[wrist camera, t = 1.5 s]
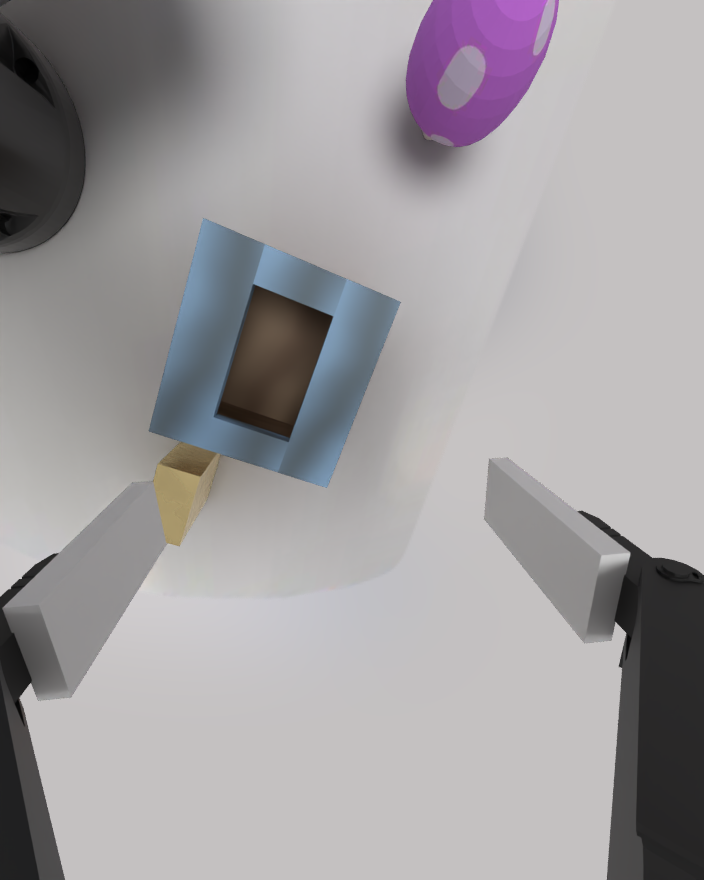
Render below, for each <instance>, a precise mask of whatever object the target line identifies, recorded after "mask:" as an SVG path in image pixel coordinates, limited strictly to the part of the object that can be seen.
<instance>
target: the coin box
mask: <svg viewBox="0 0 704 880" xmlns="http://www.w3.org/2000/svg"><path fill="white" fill-rule="evenodd" d="M400 303H401V302H400V301H397V300H395V299H393V298H390V297H388V296H386V295H383V294H381V293H379V292H376V291H374V290H371V289H369V288H367V287H364V286H362V285H360V284H357V283H355V282H353V281H350V280H348V279H346V278H343V277H341V276H338V275H336V274H334V273H331V272H329V271H327V270H324V269H322V268H320V267H317V266H315V265H313V264H310V263H308V262H306V261H303V260H301V259H298V258H296V257H294V256H291V255H289V254H287V253H284V252H282V251H280V250H277V249H275V248H273V247H270V246H268V245H266V244H263V243H261V242H258V241H256V240H254V239H251V238H249V237H247V236H244V235H242V234H240V233H237V232H235V231H233V230H230V229H228V228H225V227H223V226H221V225H218V224H216V223H214V222H211V221H209V220H207V219H204V218H203V221H202V225H201V229H200V233H199V237H198V241H197V245H196V248H195V252H194V256H193V260H192V264H191V268H190V272H189V276H188V280H187V284H186V288H185V291H184V295H183V299H182V303H181V307H180V311H179V315H178V319H177V323H176V327H175V330H174V334H173V338H172V342H171V346H170V350H169V354H168V358H167V362H166V366H165V369H164V373H163V377H162V381H161V385H160V389H159V393H158V397H157V401H156V405H155V409H154V412H153V416H152V420H151V424H150V428H149V432H152V433H156V434H159V435H162V436H165V437H168V438H171V439H174V440H178V441H181V442H184V443H187V444H190V445H193V446H196V447H200V448H203V449H206V450H209V451H212V452H215V453H219V454H222V455H225V456H228V457H231V458H234V459H237V460H241V461H244V462H247V463H250V464H253V465H256V466H259V467H263V468H266V469H269V470H272V471H275V472H278V473H281V474H285V475H288V476H291V477H294V478H297V479H300V480H303V481H307V482H310V483H313V484H316V485H319V486H322V487H325V488H327V486H328V484H329V481H330V479H331V476H332V474H333V471H334V469H335V466H336V464H337V461H338V459H339V456H340V454H341V451H342V449H343V446H344V444H345V441H346V439H347V436H348V434H349V431H350V429H351V426H352V424H353V421H354V418H355V416H356V413H357V411H358V408H359V406H360V403H361V401H362V398H363V396H364V393H365V391H366V388H367V386H368V383H369V381H370V378H371V376H372V373H373V371H374V368H375V366H376V363H377V361H378V358H379V356H380V353H381V351H382V348H383V346H384V343H385V340H386V338H387V335H388V333H389V330H390V328H391V325H392V323H393V320H394V318H395V315H396V313H397V310H398V308H399V305H400Z"/></svg>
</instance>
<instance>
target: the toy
mask: <svg viewBox="0 0 704 880" xmlns="http://www.w3.org/2000/svg"><path fill="white" fill-rule="evenodd" d="M558 3H559V0H433V2H432V3H431V5H430V7H429V9H428V11H427V12H426V14H425V16H424V18H423V20H422V22H421V24H420V27H419V29H418V32H417V35H416V37H415V40H414V43H413V46H412V49H411V52H410V56H409V61H408V67H407V75H406V93H407V99H408V103H409V107H410V110H411V112H412V114H413V117H414V119H415V121H416V123H417V124H418V125H419V127H420V128H421V129H422V130H423V131H422V133H423V136H424V138H425V139H427V140H432V139H433V140H434V141H436V142H438V143H441V144H443V145H446V146H454V147H460V146H467V145H471V144H473V143H475V142H477V141H479V140H481V139H483V138H484V137H486V136H487V135H488V134H490V133H491V132H492V131H493V130H495V129H496V128H497V127H498V126H499V125H500V124H501V123H502V122H503V121H504V120H505V119H506V118H507V117H508V116H509V114H510V113H511V112H512V111H513V109H514V108H515V107H516V106H517V104H518V103H519V102H520V100H521V99H522V97H523V96H524V95H525V93H526V92H527V90H528V89H529V87H530V85H531V83H532V81H533V79H534V77H535V75H536V73H537V71H538V69H539V67H540V65H541V64H542V62H543V60H544V58H545V55H546V52H547V49H548V46H549V43H550V40H551V37H552V33H553V30H554V27H555V24H556V19H557V12H558Z"/></svg>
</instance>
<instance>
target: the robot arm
mask: <svg viewBox="0 0 704 880" xmlns="http://www.w3.org/2000/svg"><path fill="white" fill-rule="evenodd" d="M9 1H11V0H0V6H2V5H4V4H5V3H7V2H9ZM84 173H85V151H84V142H83V136H82V131H81V127H80V123H79V120H78V116H77V114H76V111H75V108H74V105H73V103H72V101H71V98H70V96H69V94H68V92H67V90H66V88H65V86H64V85H63V83H62V81H61V79H60V78H59V76H58V75H57V73H56V71H55V70H54V69H53V67H52V66H51V64H50V63H49V62H48V60H47V59H46V58H45V57H44V55H43V54H42V53H41V52H40V51H39V50H38V48H37V47H36V46H35V45H34V44H33V43H32V42H31V41H30V40H29V39H28V38H27V37H26V36H25V35H24V34H23V33H21V32H20V31H19V30H18V29H17V28H16V27H15V26H14V25H13V24H12V23H11V22H10V21H9V20H8V19H7V18H6V17H4V16H3V15H2V14H1V13H0V253H10V252H17V251H22V250H25V249H29V248H31V247H34V246H36V245H38V244H40V243H42V242H44V241H46V240H47V239H49V238H50V237H51V236H53V235H54V234H55V233H56V232H57V231H59V230H60V229H61V227H62V226H63V225H64V224H65V223H66V221H67V220H68V219H69V217H70V216H71V214H72V212H73V211H74V209H75V207H76V204H77V202H78V199H79V197H80V193H81V190H82V186H83V180H84ZM484 519H485V521H486V522H487V523H488V524H489V526H490V527H491V528H492V529H493V531H494V532H495V533H496V534H497V536H498V537H499V538H500V539H501V540H502V541H503V543H504V544H505V546H506V547H507V548H508V549H509V551H510V552H511V553H512V554H513V555H514V557H515V558H516V559H517V560H518V561H519V563H520V564H521V565H522V567H523V568H524V569H525V570H526V571H527V573H528V574H529V575H530V577H531V578H532V579H533V580H534V582H535V583H536V584H537V585H538V586H539V588H540V589H541V590H542V591H543V593H544V594H545V595H546V596H547V598H548V599H549V600H550V601H551V603H552V604H553V605H554V606H555V608H556V609H557V610H558V611H559V613H560V614H561V615H562V616H563V617H564V619H565V620H566V621H567V622H568V624H569V625H570V626H571V627H572V629H573V630H574V631H575V632H576V634H577V635H578V636H579V637H580V639H581V640H582V641H583V642H584V643H593V642H602V641H611V640H612V635H613V631H614V626H615V622H616V623H617V624H618V625H619V626H620V627H621V628H622V629H623V630H624V631H625V632H626V638H625V642H624V646H623V651H622V655H621V659H620V664H619V667H621V668H622V678H621V692H620V707H619V720H618V733H617V747H616V762H615V776H614V789H613V803H612V817H611V830H610V845H609V858H608V859H609V860H608V872H607V880H704V575H702V573H700V572H699V571H698V570H696V569H694V568H692V567H690V566H688V565H686V564H684V563H681V562H677V561H675V560H670V559H665V558H652V557H650V556H649V555H648V554H646V553H645V552H643V551H642V550H641V549H640V548H638V547H637V546H636V545H634V544H633V543H631V542H630V541H629V540H627V539H626V538H625V537H623V536H621V535H620V534H619V533H618V532H616V531H615V530H614V529H611V527H610V526H608V525H607V524H606V523H604V522H603V521H602V520H600V519H599V518H597V517H595V516H593V515H590V514H588V513H586V512H583V511H576V510H574V509H573V508H572V507H571V506H569V505H568V504H567V503H565V502H564V501H563V500H562V499H560V498H559V497H558V496H556V495H555V494H554V493H553V492H551V491H550V490H549V489H547V488H546V487H545V486H544V485H542V484H541V483H540V482H538V481H537V480H536V479H535V478H533V477H532V476H531V475H529V474H528V473H527V472H525V471H524V470H523V469H522V468H520V467H519V466H517V465H516V464H515V463H514V462H513V461H511V460H510V459H509V458H492V459H489V466H488V478H487V491H486V504H485V516H484ZM165 546H166V540H165V535H164V530H163V526H162V521H161V516H160V511H159V507H158V502H157V497H156V493H155V488H154V483H153V481H151V482H136V483H131V484H130V485H129V486H128V487H127V488H126V489H125V490H124V491H123V492H122V493H121V494H120V495H119V496H118V497H117V498H116V499H115V500H114V501H113V502H112V503H111V504H110V505H109V506H108V507H107V508H105V509H104V510H103V511H102V512H101V513H100V514H99V515H98V516H97V517H96V518H95V519H94V520H93V521H92V522H91V523H90V524H89V525H88V526H87V527H86V528H85V529H84V530H83V531H82V532H81V533H80V534H79V535H77V536H76V537H75V538H74V539H73V540H72V541H71V542H70V543H69V544H68V545H67V546H66V547H65V548H64V549H63V550H62V551H61V552H60V553H57V554H52V555H51V556H49V557H47V558H46V559H44V560H42V561H41V562H39V563H37V564H35V565H34V566H33V567H32V568H31V569H30V570H29V571H28V572H27V573H26V574H25V575H23V577H22V579H19V580H18V581H17V582H16V583H15V584H14V585H13V586H12V587H11V589H9V590H7V591H6V592H5V593H4V594H3V595H2V596H1V597H0V880H65V878H64V874H63V870H62V865H61V861H60V857H59V853H58V849H57V845H56V841H55V837H54V832H53V828H52V824H51V820H50V816H49V812H48V808H47V804H46V799H45V795H44V791H43V787H42V783H41V779H40V775H39V770H38V766H37V762H36V758H35V754H34V750H33V746H32V742H31V738H30V733H29V729H28V725H27V721H26V717H25V713H24V709H23V706H22V704H21V701H20V699H19V697H20V696H21V695H22V693H23V692H24V690H25V689H26V688H27V687H28V685H29V684H30V683H31V684H32V686H33V689H34V692H35V694H36V697H37V700H38V701H41V700H50V699H60V698H70V697H72V695H73V694H74V692H75V690H76V689H77V687H78V685H79V684H80V682H81V681H82V679H83V678H84V676H85V674H86V673H87V671H88V669H89V668H90V666H91V665H92V663H93V661H94V660H95V658H96V657H97V655H98V653H99V652H100V650H101V649H102V647H103V645H104V643H105V642H106V641H107V639H108V637H109V636H110V634H111V633H112V631H113V629H114V628H115V626H116V624H117V623H118V621H119V620H120V618H121V616H122V615H123V613H124V612H125V610H126V608H127V607H128V605H129V603H130V602H131V600H132V599H133V597H134V595H135V594H136V592H137V591H138V589H139V588H140V586H141V584H142V583H143V581H144V580H145V578H146V576H147V575H148V573H149V571H150V570H151V568H152V567H153V565H154V563H155V562H156V560H157V559H158V557H159V555H160V554H161V552H162V551H163V549H164V547H165Z"/></svg>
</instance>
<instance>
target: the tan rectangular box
mask: <svg viewBox="0 0 704 880" xmlns="http://www.w3.org/2000/svg"><path fill="white" fill-rule="evenodd" d="M220 456H221V454H219V453H215V452H212V451H209V450H206V449H203V448H200V447H196V446H193V445H190V444H187V443H184V442H180V443H179V444H178V445H177V446H176V447H175V448H174V449H173V450H172V451H171V452H170V453H169V454H168V455H167V456H166V457H165V458H163V459H162V460H161V461H160V462H159V463H158V465H157V469H156V473H155V476H154V480H153V483H154V488H155V493H156V497H157V502H158V507H159V511H160V516H161V521H162V526H163V530H164V535H165V540H166V543H169V544H173V545H177V546H180V544H181V543H182V541H183V539H184V538H185V536H186V534H187V533H188V531H189V529H190V527H191V526H192V524H193V522H194V521H195V519H196V517H197V516H198V514H199V512H200V510H201V509H202V507H203V505H204V504H205V502H206V500H207V498H208V495H209V491H210V488H211V485H212V482H213V479H214V475H215V472H216V469H217V466H218V463H219V459H220Z"/></svg>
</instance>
